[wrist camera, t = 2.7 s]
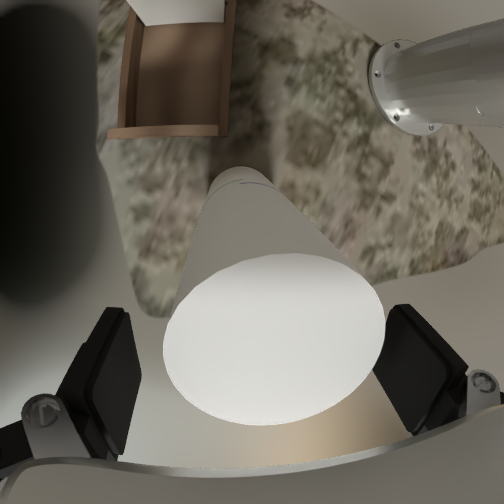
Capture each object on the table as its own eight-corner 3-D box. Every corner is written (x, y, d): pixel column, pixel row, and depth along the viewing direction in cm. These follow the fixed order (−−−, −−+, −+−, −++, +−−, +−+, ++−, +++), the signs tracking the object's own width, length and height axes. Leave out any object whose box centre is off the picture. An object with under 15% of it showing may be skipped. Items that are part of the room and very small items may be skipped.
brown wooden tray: (236, 1, 23) (240, -37, 15) (227, 137, 29) (227, 135, 21) (142, 5, 22) (120, -27, 14) (130, 138, 28) (98, 139, 20)
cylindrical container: (270, 231, 34) (351, 416, 10) (206, 228, 33) (174, 423, 10) (276, 168, 31) (411, 257, 8) (209, 164, 30) (153, 247, 7)
